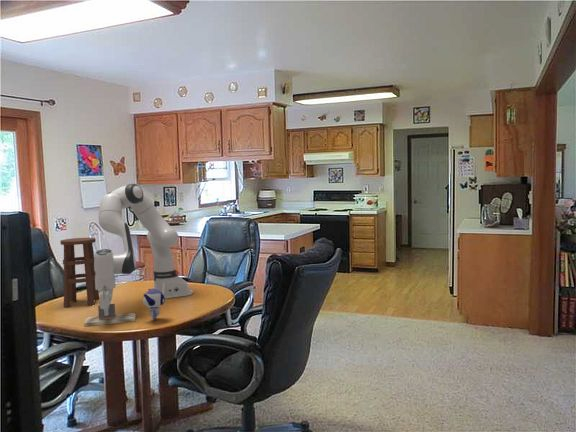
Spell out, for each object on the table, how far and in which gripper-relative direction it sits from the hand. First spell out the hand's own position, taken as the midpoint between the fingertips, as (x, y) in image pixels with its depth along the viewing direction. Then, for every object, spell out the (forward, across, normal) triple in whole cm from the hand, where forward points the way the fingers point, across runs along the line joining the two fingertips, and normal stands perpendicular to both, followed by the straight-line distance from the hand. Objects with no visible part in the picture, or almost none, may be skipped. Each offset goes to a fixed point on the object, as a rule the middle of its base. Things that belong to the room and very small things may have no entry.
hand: (107, 313), depth 224 cm
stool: (+4, +42, +16) cm, 45 cm away
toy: (+4, -7, -21) cm, 23 cm away
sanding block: (+2, 0, 0) cm, 2 cm away
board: (+4, 0, -1) cm, 4 cm away
